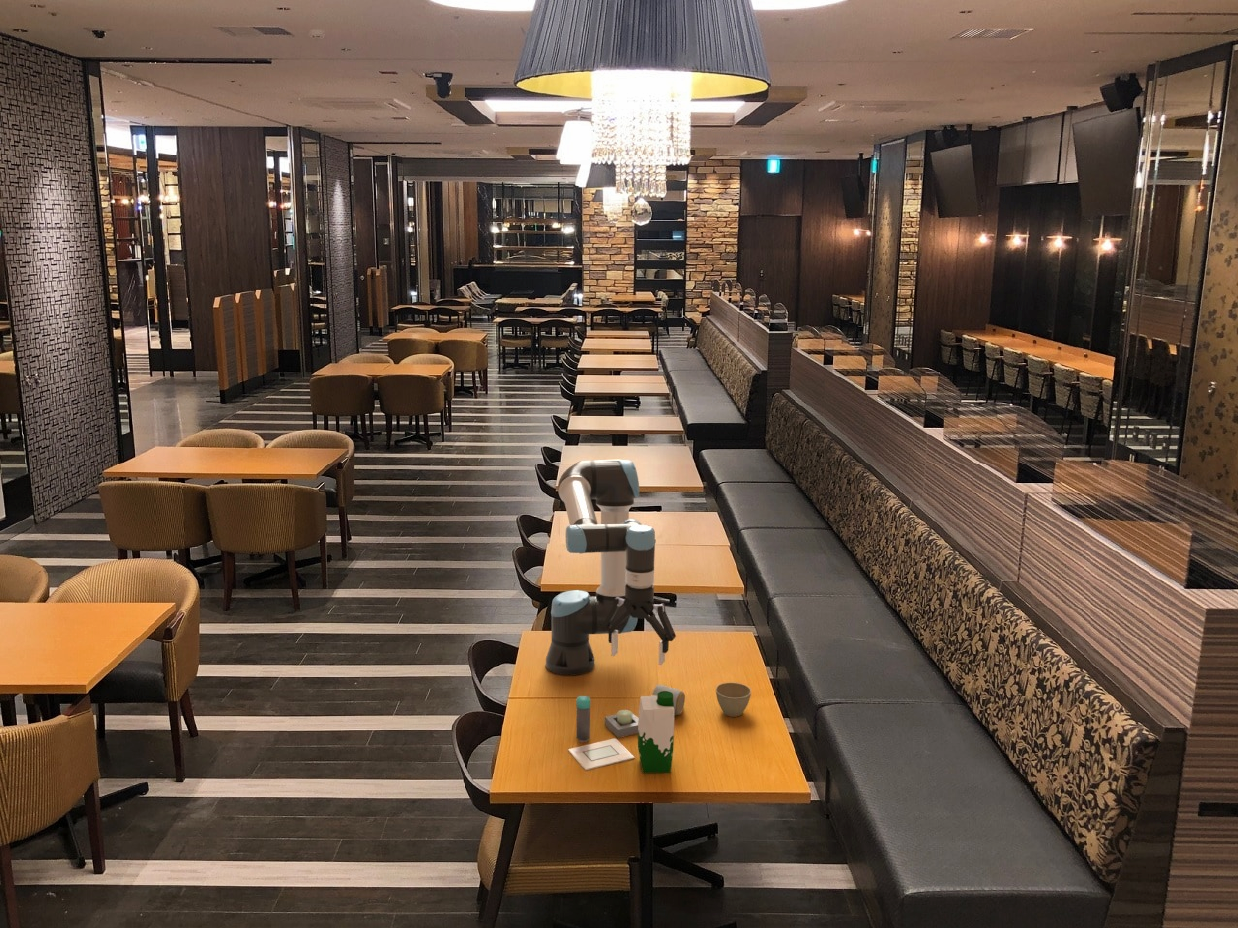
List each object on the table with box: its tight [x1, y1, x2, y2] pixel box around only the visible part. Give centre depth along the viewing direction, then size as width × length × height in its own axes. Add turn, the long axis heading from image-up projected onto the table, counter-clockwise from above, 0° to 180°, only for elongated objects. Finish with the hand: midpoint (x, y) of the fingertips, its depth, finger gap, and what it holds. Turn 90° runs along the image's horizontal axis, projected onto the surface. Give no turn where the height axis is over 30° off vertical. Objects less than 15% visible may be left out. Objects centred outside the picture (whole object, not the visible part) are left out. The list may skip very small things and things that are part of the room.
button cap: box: [616, 709, 633, 726], centre depth 287 cm, size 4×4×3 cm
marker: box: [575, 695, 591, 743], centre depth 280 cm, size 4×4×12 cm
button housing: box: [604, 712, 639, 739], centre depth 287 cm, size 8×8×2 cm
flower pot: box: [715, 682, 752, 718], centre depth 297 cm, size 10×10×7 cm
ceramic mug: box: [651, 683, 686, 716], centre depth 298 cm, size 11×8×8 cm
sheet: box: [567, 737, 635, 771], centre depth 274 cm, size 11×14×1 cm
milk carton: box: [637, 691, 675, 774], centre depth 266 cm, size 9×9×20 cm
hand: (637, 658), depth 280 cm, fingers open, 13 cm apart
